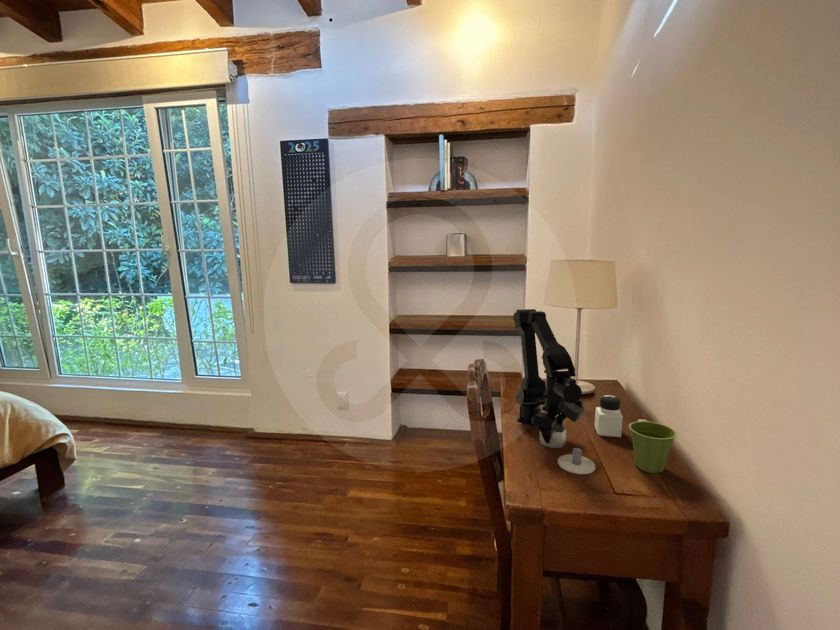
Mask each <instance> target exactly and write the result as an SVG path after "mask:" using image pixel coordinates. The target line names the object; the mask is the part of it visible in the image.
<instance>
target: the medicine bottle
mask: <svg viewBox="0 0 840 630" xmlns="http://www.w3.org/2000/svg"><path fill="white" fill-rule="evenodd" d="M620 407H621V400H620V398H618V397H617V396H614V395H602V396H601V397H600V399H599V406H596V407H595V415H594V428H595V430H596V433H597V435H598V436H603V437H613V438H621V437H622V435H623V434H622V433H623V421H624V416H623V415H622V413H621V411H620V409H621V408H620Z"/></svg>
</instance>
